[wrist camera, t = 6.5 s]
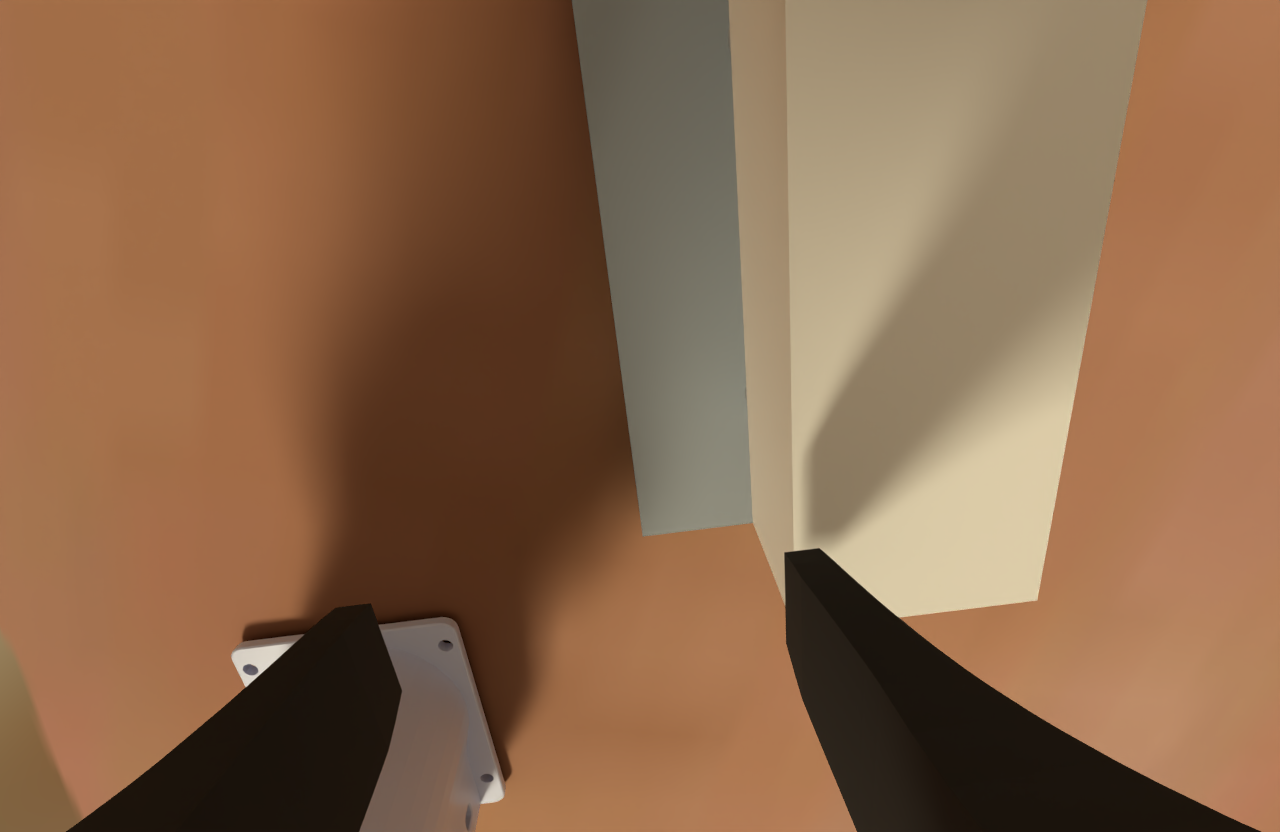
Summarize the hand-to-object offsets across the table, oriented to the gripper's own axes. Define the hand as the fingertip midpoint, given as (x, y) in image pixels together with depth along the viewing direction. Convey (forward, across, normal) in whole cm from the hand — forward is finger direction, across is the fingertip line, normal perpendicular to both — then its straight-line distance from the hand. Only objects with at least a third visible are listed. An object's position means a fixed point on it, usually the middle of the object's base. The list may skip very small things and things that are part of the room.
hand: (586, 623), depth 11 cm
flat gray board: (+9, -6, -5) cm, 12 cm away
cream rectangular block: (+5, -6, -5) cm, 10 cm away
